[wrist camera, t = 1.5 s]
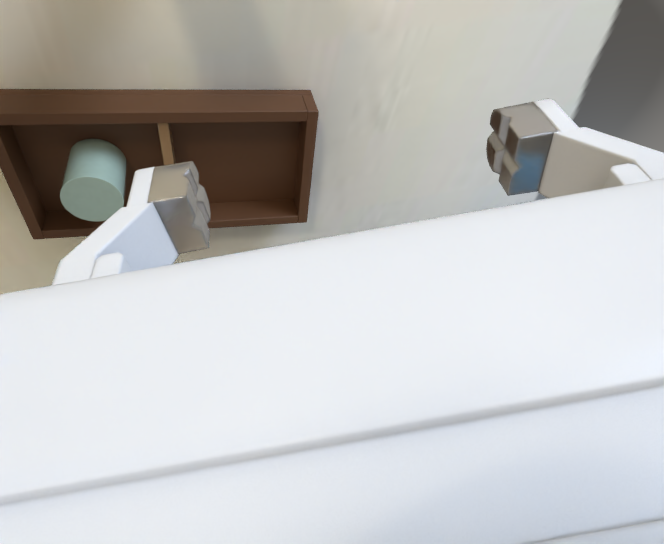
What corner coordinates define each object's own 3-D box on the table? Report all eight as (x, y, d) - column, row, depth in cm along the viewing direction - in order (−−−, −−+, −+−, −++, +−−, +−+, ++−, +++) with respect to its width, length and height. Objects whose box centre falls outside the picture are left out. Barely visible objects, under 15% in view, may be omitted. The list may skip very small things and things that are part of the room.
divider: (172, 199, 46) (172, 220, 44) (157, 100, 38) (156, 120, 36) (181, 198, 46) (182, 220, 44) (167, 100, 38) (167, 120, 36)
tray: (39, 213, 44) (33, 239, 41) (-14, 88, 35) (-25, 113, 33) (300, 200, 49) (306, 222, 47) (310, 89, 40) (318, 111, 38)
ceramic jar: (76, 183, 41) (68, 223, 38) (61, 138, 38) (51, 177, 35) (131, 181, 42) (128, 220, 39) (121, 137, 39) (117, 175, 36)
